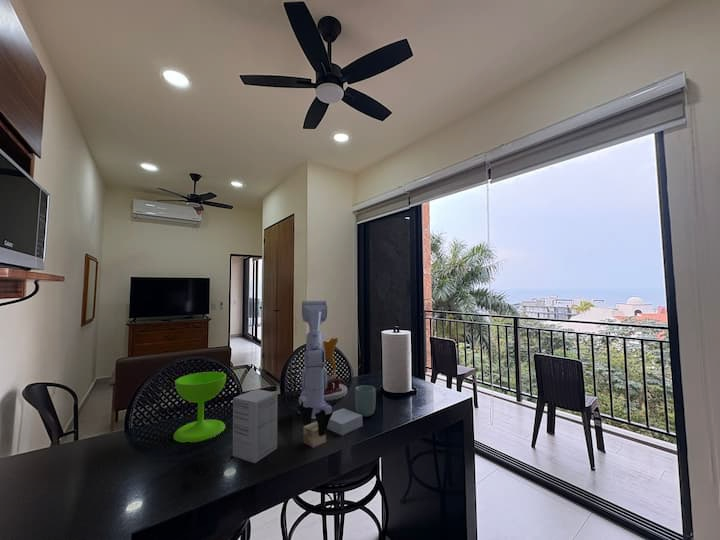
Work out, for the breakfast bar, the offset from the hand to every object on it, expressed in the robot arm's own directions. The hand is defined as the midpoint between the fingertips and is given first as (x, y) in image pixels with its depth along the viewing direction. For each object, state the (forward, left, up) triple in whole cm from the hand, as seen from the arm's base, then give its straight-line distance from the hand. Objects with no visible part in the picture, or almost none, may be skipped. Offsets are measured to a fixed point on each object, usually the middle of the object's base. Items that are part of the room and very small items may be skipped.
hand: (314, 431), depth 100 cm
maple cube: (0, 0, -4) cm, 4 cm away
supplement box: (-8, -16, -4) cm, 18 cm away
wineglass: (-35, -22, -4) cm, 42 cm away
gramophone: (-34, +33, -4) cm, 48 cm away
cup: (-3, +27, -4) cm, 28 cm away
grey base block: (-2, +14, -4) cm, 15 cm away
